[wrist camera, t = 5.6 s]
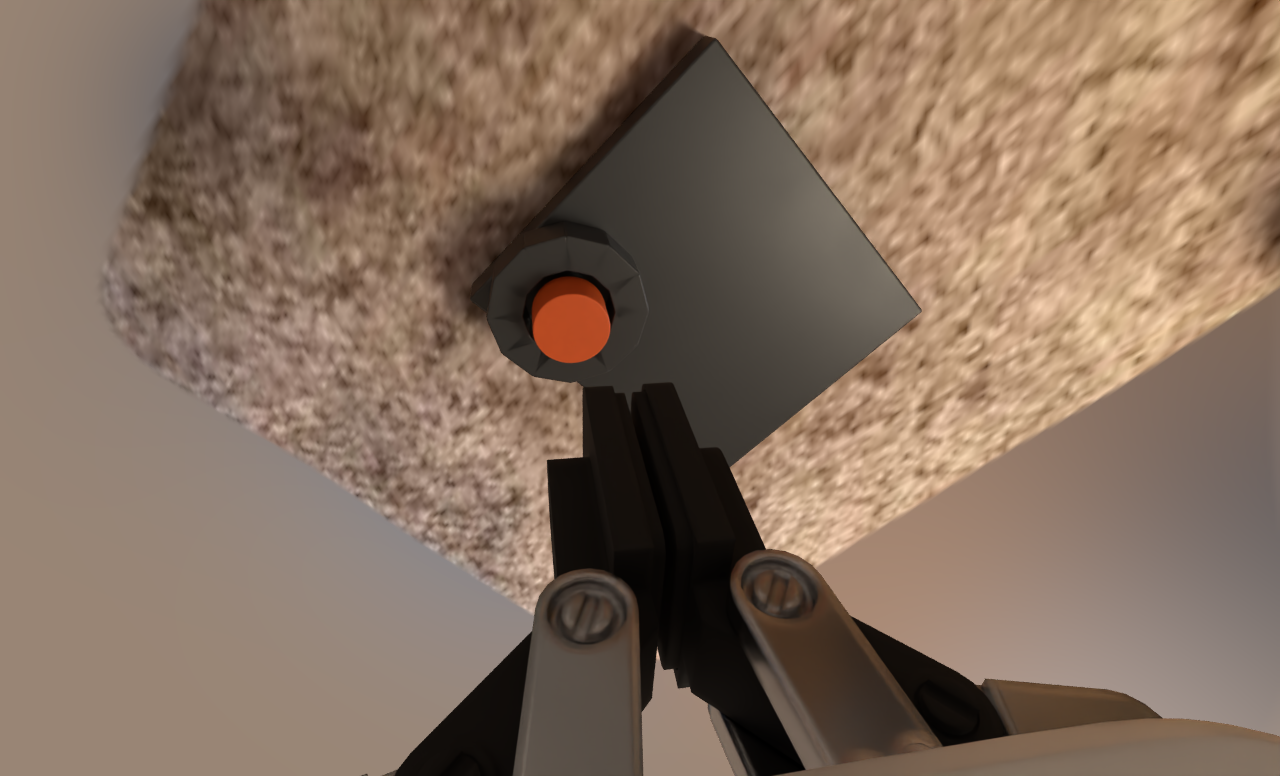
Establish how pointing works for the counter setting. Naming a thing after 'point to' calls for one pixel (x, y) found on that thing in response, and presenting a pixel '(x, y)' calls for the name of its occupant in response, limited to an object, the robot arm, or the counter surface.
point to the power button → (570, 320)
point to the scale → (704, 262)
